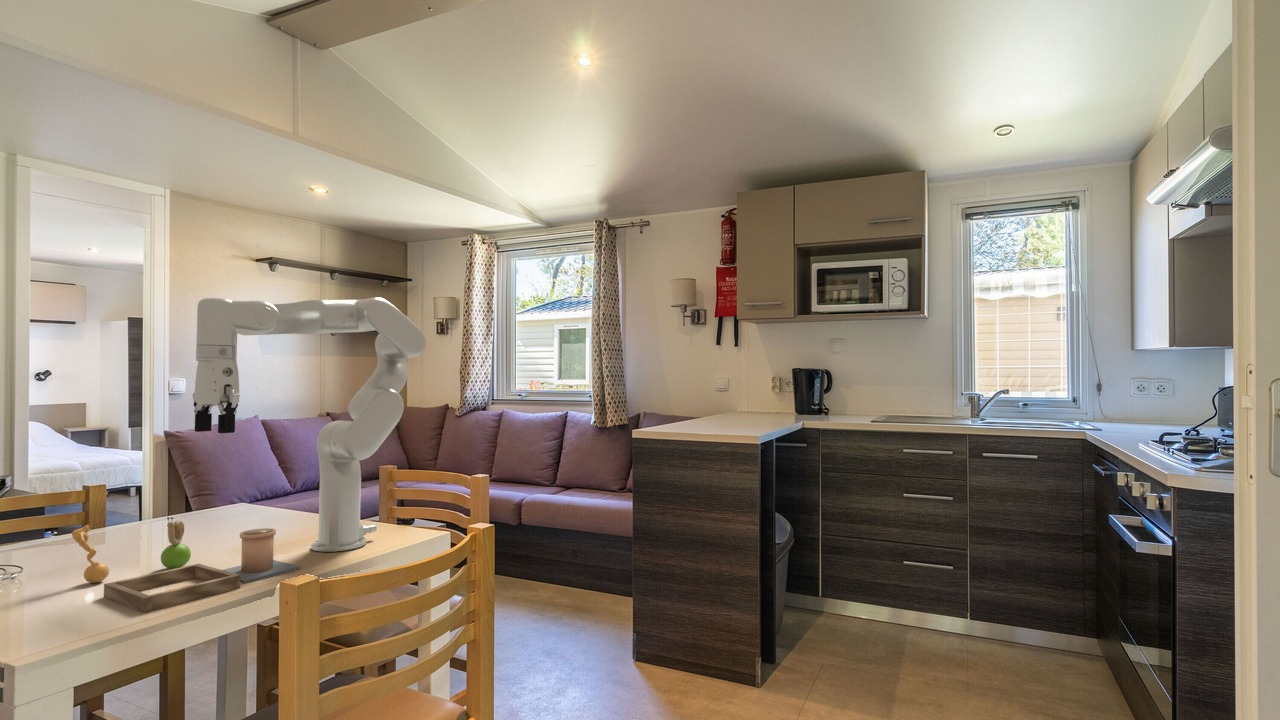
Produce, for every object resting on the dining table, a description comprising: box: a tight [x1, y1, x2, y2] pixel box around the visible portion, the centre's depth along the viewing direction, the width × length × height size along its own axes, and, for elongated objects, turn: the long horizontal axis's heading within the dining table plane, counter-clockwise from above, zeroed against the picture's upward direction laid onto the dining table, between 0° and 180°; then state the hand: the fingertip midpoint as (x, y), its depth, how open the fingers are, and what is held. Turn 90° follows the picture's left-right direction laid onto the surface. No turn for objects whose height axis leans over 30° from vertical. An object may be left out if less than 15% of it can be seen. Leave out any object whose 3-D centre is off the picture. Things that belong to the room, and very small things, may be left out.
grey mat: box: [222, 559, 301, 584], centre depth 139 cm, size 12×12×1 cm
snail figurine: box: [160, 516, 192, 570], centre depth 141 cm, size 5×6×12 cm
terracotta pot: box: [239, 527, 277, 573], centre depth 139 cm, size 7×7×8 cm
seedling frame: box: [103, 563, 241, 613], centre depth 125 cm, size 16×16×2 cm
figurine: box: [71, 524, 110, 584], centre depth 130 cm, size 8×6×12 cm
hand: (214, 432), depth 140 cm, fingers open, 9 cm apart
